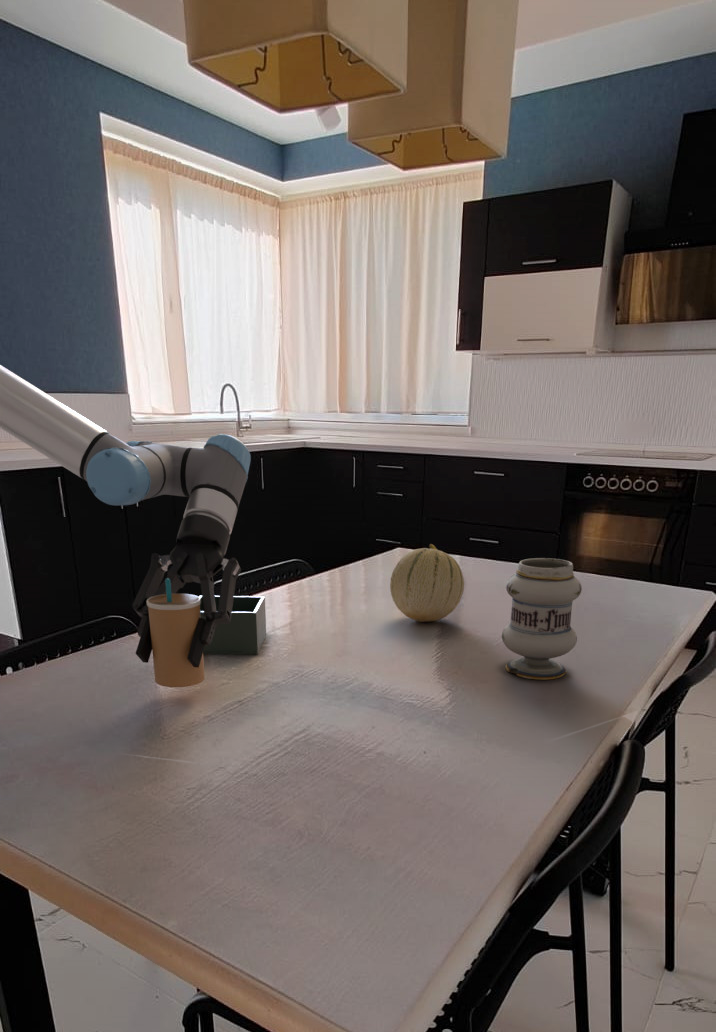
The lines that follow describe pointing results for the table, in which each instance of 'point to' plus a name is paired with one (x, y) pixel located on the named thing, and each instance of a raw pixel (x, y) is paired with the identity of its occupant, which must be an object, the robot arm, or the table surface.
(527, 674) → the apothecary jar
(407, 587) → the cantaloupe
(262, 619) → the bin
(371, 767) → the table surface
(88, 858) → the table surface
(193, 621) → the drink cup
